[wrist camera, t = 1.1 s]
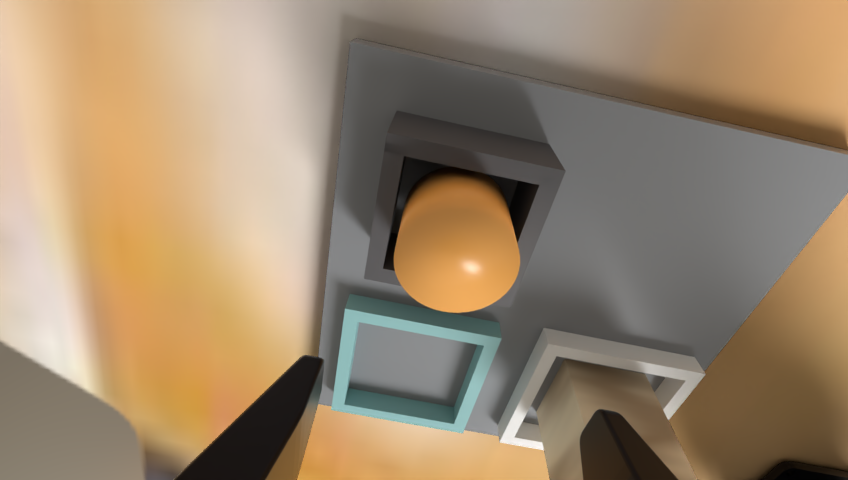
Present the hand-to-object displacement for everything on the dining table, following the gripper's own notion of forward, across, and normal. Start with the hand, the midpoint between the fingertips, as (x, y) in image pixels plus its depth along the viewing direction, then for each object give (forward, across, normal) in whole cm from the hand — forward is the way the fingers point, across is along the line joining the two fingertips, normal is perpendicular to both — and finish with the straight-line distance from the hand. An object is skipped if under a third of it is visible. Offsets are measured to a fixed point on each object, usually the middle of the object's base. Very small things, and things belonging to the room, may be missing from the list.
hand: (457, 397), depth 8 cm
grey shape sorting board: (+10, -4, +4) cm, 12 cm away
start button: (+8, 0, 0) cm, 8 cm away
